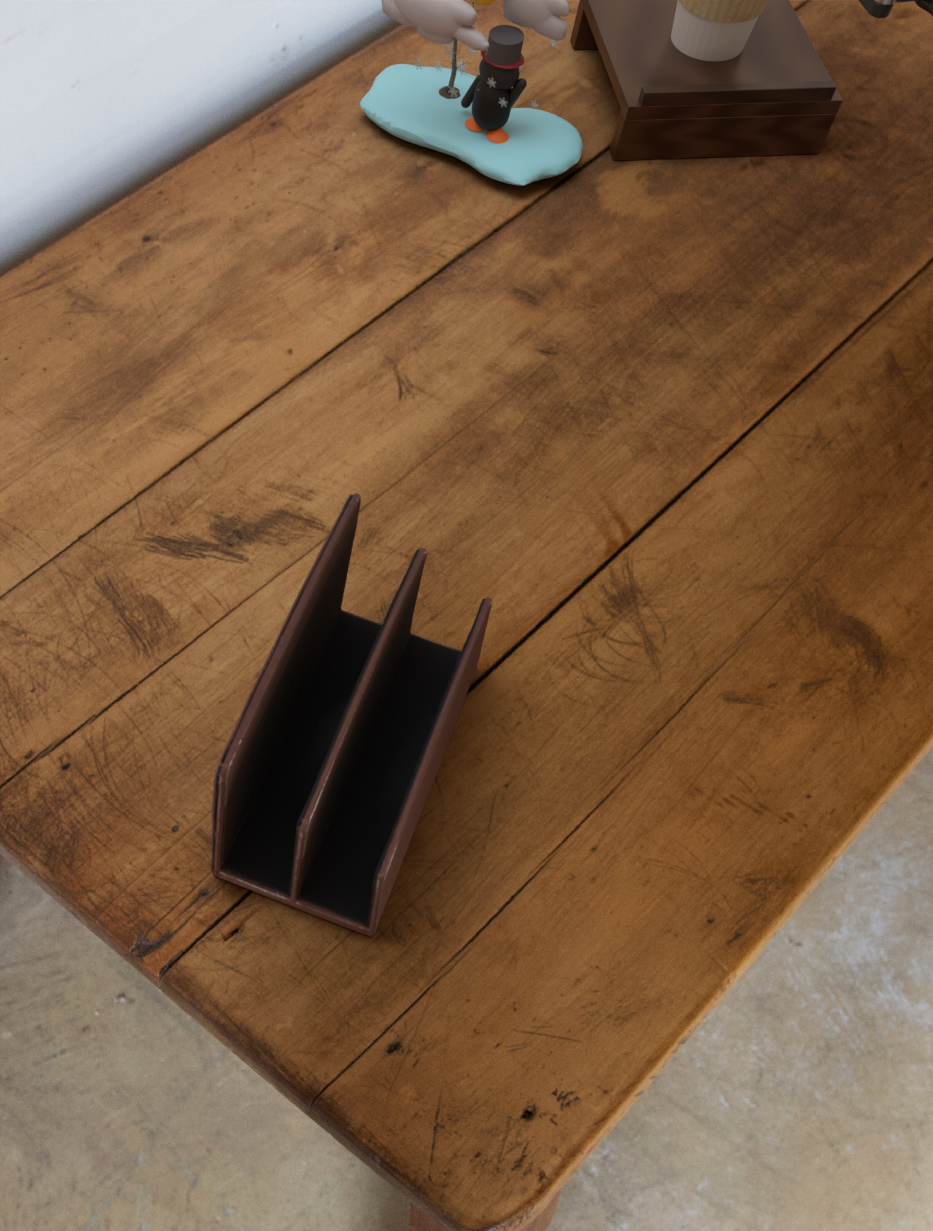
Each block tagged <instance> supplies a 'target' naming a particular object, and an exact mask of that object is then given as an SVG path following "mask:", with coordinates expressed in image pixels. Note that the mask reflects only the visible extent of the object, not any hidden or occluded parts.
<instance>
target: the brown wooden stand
mask: <svg viewBox="0 0 933 1231" xmlns="http://www.w3.org/2000/svg"><path fill="white" fill-rule="evenodd" d="M677 1H678V0H579V1H578V6H577V10H576V13H575V19H574V22H573V26H572V31H571V35H570V39H569V40H570V44H571V46H572V49H573V50H574V51H575V50H576V51H577V50H579V51H580V50H598V51H599V54H600V57H601V59H602V62H603V64H604V68H605V70H606V72H607V75H608V78H609V81H610V84H611V86H612V89H613V92H614V94H615V96H616V100H617V102H618V104H619V105H618V106H619V107H620V111H619V114H618V118H617V121H616V124H615V129H614V132H613V136H612V139H611V143H610V146H609V152H610V155H611V158H612V160H613V161H637V160H638V161H639V160H640V161H641V160H643V161H644V160H668V159H669V160H670V159H673V160H674V159H697V158H699V159H700V158H730V157H731V158H733V157H760V156H762V157H763V156H789V155H790V156H793V155H819V154H820V153H821V150H822V147H823V146H824V143H825V141H826V139H827V137H828V134H829V132H830V130H831V127H832V125H833V123H834V120H835V118H836V116H837V114H838V112H839V110H840V109H841V108H840V107H841V105H842V104H843V98H842V97H841V95H840V92H839V90H838V88H837V84H836V83H835V81H834V80H833V79H832V78H831V76H830V74H829V72H828V70H827V68H826V66H825V64H824V63H823V60H822V59H821V57H820V55H819V53H818V52H817V49H816V48H815V45H814V44H813V42H812V40H811V38H810V37H809V35H808V33H807V31H806V29H805V27H804V25H803V23H802V21H801V20H800V18H799V16H798V14H797V12H796V11H795V8H794V7H793V4H792V3H791V1H790V0H768V3H767V5H766V7H765V9H764V11H763V12H762V13H761V14H760V15H759V17H758V19H757V21H756V23H755V25H754V27H753V29H752V31H751V33H750V35H749V38H748V40H747V42H746V44H745V46H744V48H743V50H742V52H741V53H740V54H739V55H738V56H736V57H735V58H732V59H729V60H725V61H716V62H714V61H704V60H699V59H695V58H692V57H690V56H687V55H686V54H684V53H682V52H681V51H679V50H678V49H677V48H676V47H675V46H674V44H673V43H672V40H671V33H672V28H673V22H674V17H675V12H676V6H677Z"/></svg>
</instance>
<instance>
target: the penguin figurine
mask: <svg viewBox="0 0 933 1231" xmlns="http://www.w3.org/2000/svg"><path fill="white" fill-rule="evenodd" d="M380 1H381V9H382V13H384V14H385V15H386V16H387V17H388V18H389V19H391V20H393V21H395V22H396V23H399V24H400V25H403V26H407V27H413V28H414V27H415V28H417V34H418V35H419V36H420V37H422V38H424V39H426V40H427V41H429V42H430V43H434V44H437V45H443V46H444V47H445V46H446V47H445V50H446V51H444V54H446V55H447V56H449V57H447V58H448V60H449V59H450V57H451V61H448V60H446V59H442V62H443V61H444V62H449V63H450V64H451V68H450V67H449V68H448V67H444V66H443V65H441V63H440V61H437V62H436V61H434V63H433V64H434V66H423V63H420V58H417V60H416V59H415V58H413V62H414V64H409V63H397V64H392V65H389V66H387V67H386V68H384V69H383V70H382V71H381V72H379V74H378V75H376V77H375V79H374V80H373V83H372V85H371V88H370V89H369V90H368V91H367V93H365V94H364V96H363V97H362V98H361V100H360V101H359V106H360V109H361V111H362V112H363V114H364V115H365V116H366V117H367V118H368V119H369V120H370V121H372V122H373V123H374V124H376V125H377V126H378V127H379V128H381V129H383V131H385V132H387V133H388V134H390V135H392V136H394V137H397V138H399V139H401V140H402V141H406V142H408V143H411V144H414V145H417V146H420V147H424V148H427V149H430V150H432V151H433V150H434V151H436V152H439V153H442V154H445V155H448V156H452V157H454V158H456V159H458V160H459V161H462V162H464V163H466V164H467V165H469V166H470V167H472V168H473V169H474V170H475V171H477V172H479V173H480V174H482V175H483V176H485V177H488V178H490V179H492V180H495V181H498V182H500V183H505V184H507V185H513V186H518V187H519V186H520V187H524V186H526V185H529V184H530V185H531V184H532V183H534V182H537V181H541V180H545V179H550V178H554V177H558V176H560V175H562V174H564V173H566V172H568V171H569V170H570V169H571V168H572V167H574V166H575V165H576V164H577V163H578V162H579V161H580V160H581V159H580V158H582V156H583V154H582V152H583V149H584V146H583V139H582V137H581V135H580V132H579V131H578V129H577V128H576V127H575V126H574V125H573V124H572V123H571V122H569V121H567V120H566V119H564V118H563V117H560V116H559V115H557V114H554V113H552V112H549V111H547V110H542V109H539V108H538V106H540V104H537V99H535V100H534V101H533V100H530V102H531V103H530V106H532V107H513V106H514V105H515V104H516V102H517V101H518V99H519V97H520V96H523V92H524V91H525V89H526V88H527V85H528V82H527V80H526V79H525V78H523V77H521V78H520V72H521V71H522V69H523V65H524V63H525V57H524V55H523V53H522V50H523V45H524V41H525V40H524V39H525V32H524V31H522V29H520V28H519V27H522V28H529V29H530V28H531V29H532V30H534V31H535V32H536V33H537V34H539V35H541V36H543V37H544V38H548V39H549V40H550V43H551V50H552V49H554V48H555V49H558V46H557V45H559V42H558V41H562V40H564V39H565V38H566V35H567V32H568V24H567V22H566V20H564V18H563V17H568V16H569V14H570V6H569V5H570V4H569V3H568V1H567V0H501V1H502V12H503V17H504V19H505V20H506V21H508V22H510V23H512V24H514V25H516V26H514V25H510V24H499V25H496V26H492V27H491V29H489V32H488V36H487V37H488V38H487V37H486V36H485V35H484V34H483V33H482V32H481V31H480V30H478V29H477V28H476V27H475V25H476V22H477V23H479V21H482V20H483V18H481V19H478V15H479V14H478V11H479V9H475V4H476V5H479V6H488V5H492V4H494V3H495V2H496V1H497V0H470V1H471V4H472V5H471V4H469V3H468V2H467V1H465V0H380ZM478 20H479V21H478ZM517 26H519V27H517ZM458 42H460V43H462V44H464V45H465V46H467V47H468V48H467V50H466V51H468V52H470V54H469V55H470V57H472V55H474V56H477V53H476V52H477V51H478V52H479V51H480V56H481V61H480V62H479V67H478V75H477V76H476V75H473V74H471V73H468V72H467V69H466V68H465V66H466V63H467V64H469V65H471V63H470V62H468V61H465V60H463V59H460V60H457V56H459V55H460V54H459V53H461V52H458V51H457V50H458ZM464 61H465V62H464Z"/></svg>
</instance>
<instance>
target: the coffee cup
mask: <svg viewBox="0 0 933 1231" xmlns="http://www.w3.org/2000/svg"><path fill="white" fill-rule="evenodd" d="M767 3H768V0H678V1H677V6H676V12H675V17H674V22H673V28H672V33H671V40H672V43H673V44H674V46H675V47H676V48H677V49H678V50H679V51H681V52H682V53H684V54H686V55H687V56H690V57H692V58H695V59H699V60H704V61H714V62H716V61H725V60H729V59H732V58H735V57H736V56H738V55H739V54H740V53H741V52H742V50H743V48H744V46H745V44H746V42H747V40H748V38H749V35H750V33H751V31H752V29H753V27H754V25H755V23H756V21H757V19H758V17H759V15H760V14H761V13H762V12H763V11H764V9H765V7H766V5H767Z"/></svg>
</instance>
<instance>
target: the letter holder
mask: <svg viewBox="0 0 933 1231" xmlns="http://www.w3.org/2000/svg"><path fill="white" fill-rule="evenodd" d="M361 499H362V497H361V495H360V493H357V492H355V493H354V494H351V493H350V494H349V495H348V496H347V498H346V500H345V502H344V504H343V505H342V508H341V510H340V511H339V514H338V516H337V517H336V519H335V522H334V523H333V525H332V527H331V529H330V530H329V533H328V534H327V536H326V539H325V540H324V542H323V545H322V547H321V548H320V550H319V552H318V553H317V556H316V558H315V560H314V561H313V564H312V566H311V568H310V570H309V572H308V574H307V575H306V577H305V579H304V581H303V583H302V585H301V587H300V589H299V591H298V592H297V595H296V598H295V599H294V601H293V603H292V605H291V608H290V610H289V612H288V614H287V616H286V618H285V620H284V622H283V624H282V626H281V628H280V630H279V633H278V635H277V637H276V639H275V640H274V642H273V645H272V647H271V649H270V651H269V653H268V656H267V657H266V659H265V662H264V663H263V666H262V668H261V670H260V672H259V674H258V677H257V678H256V680H255V682H254V684H253V687H252V689H251V690H250V693H249V694H248V697H247V699H246V701H245V703H244V704H243V708H242V710H241V713H240V714H239V717H238V719H237V721H236V723H235V726H234V728H233V730H232V732H231V735H230V736H229V739H228V741H227V743H226V744H225V747H224V749H223V752H222V754H221V756H220V759H219V761H218V764H217V766H216V769H215V772H214V777H213V790H212V791H213V792H212V807H211V860H210V872H211V873H212V875H213V877H215V878H218V879H222V880H225V881H227V882H229V883H232V884H234V885H236V886H239V887H241V888H244V889H247V890H250V891H252V892H254V893H257V894H259V895H263V896H265V897H267V898H270V899H272V900H274V901H276V902H277V901H278V902H280V903H281V904H282V903H283V904H285V905H287V906H290V907H294V908H296V909H297V910H299V911H302V912H305V913H307V914H309V915H313V916H314V917H318V918H321V919H323V920H326V921H327V922H330V923H333V924H336V925H338V926H340V927H344V928H347V929H349V930H352V931H353V932H357V933H359V934H362V935H365V936H368V937H371V938H373V937H374V936H375V934H376V933H377V929H378V926H379V924H380V921H381V920H382V916H383V913H384V910H385V908H386V905H387V903H388V901H389V898H390V896H391V894H392V890H393V888H394V885H395V882H396V880H397V878H398V874H399V872H400V868H401V867H402V865H403V862H404V859H405V857H406V854H407V852H408V849H409V846H410V844H411V842H412V838H413V835H414V832H415V831H416V828H417V826H418V824H419V821H420V818H421V814H422V812H423V809H424V806H425V804H426V802H427V799H428V797H429V793H430V791H431V788H432V787H433V784H434V781H435V779H436V777H437V774H438V771H439V768H440V765H441V763H442V760H443V758H444V756H445V752H446V749H447V747H448V744H449V742H450V740H451V737H452V735H453V732H454V729H455V726H456V725H457V721H458V718H459V716H460V714H461V711H462V709H463V708H462V707H463V705H464V702H465V700H466V697H467V694H468V693H469V689H470V687H471V684H472V682H473V681H474V676H475V675H476V672H477V671H478V664H479V660H480V656H481V653H482V649H483V645H484V644H483V643H484V640H485V635H486V630H487V627H488V622H489V620H490V614H491V610H492V607H493V600H492V597H490V596H488V597H486V598H483V599H481V602H480V604H479V608H478V610H477V613H476V616H475V618H474V620H473V624H472V626H471V628H470V630H469V632H468V634H467V636H466V640H465V642H464V644H463V646H462V648H461V650H460V649H456V648H454V647H450V646H447V645H444V644H441V643H438V642H435V641H432V640H430V639H427V638H424V637H422V636H419V635H417V634H414V633H412V631H411V630H412V625H413V620H414V615H415V609H416V604H417V601H418V594H419V590H420V586H421V581H422V578H423V577H422V576H423V572H424V568H425V563H426V560H427V556H428V553H427V552H428V551H427V549H426V548H425V547H420V548H419V549H417V550H416V551H415V552H414V553H413V554H414V555H413V556H412V559H411V561H410V564H409V566H408V567H407V570H406V572H405V574H404V576H402V577H403V578H402V580H401V582H400V585H399V587H398V589H397V590H396V592H395V595H394V596H393V599H392V600H391V603H390V605H389V607H388V610H387V612H386V614H385V617H384V619H383V621H382V623H380V622H375V621H373V620H370V619H368V618H365V617H362V616H359V615H356V614H355V613H351V612H349V611H346V610H343V609H342V605H343V601H344V596H345V590H346V585H347V580H348V573H349V567H350V563H351V556H352V552H353V547H354V543H355V542H354V541H355V538H356V532H357V526H358V522H359V513H360V510H361V505H362V504H361V503H362V501H361Z"/></svg>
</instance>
